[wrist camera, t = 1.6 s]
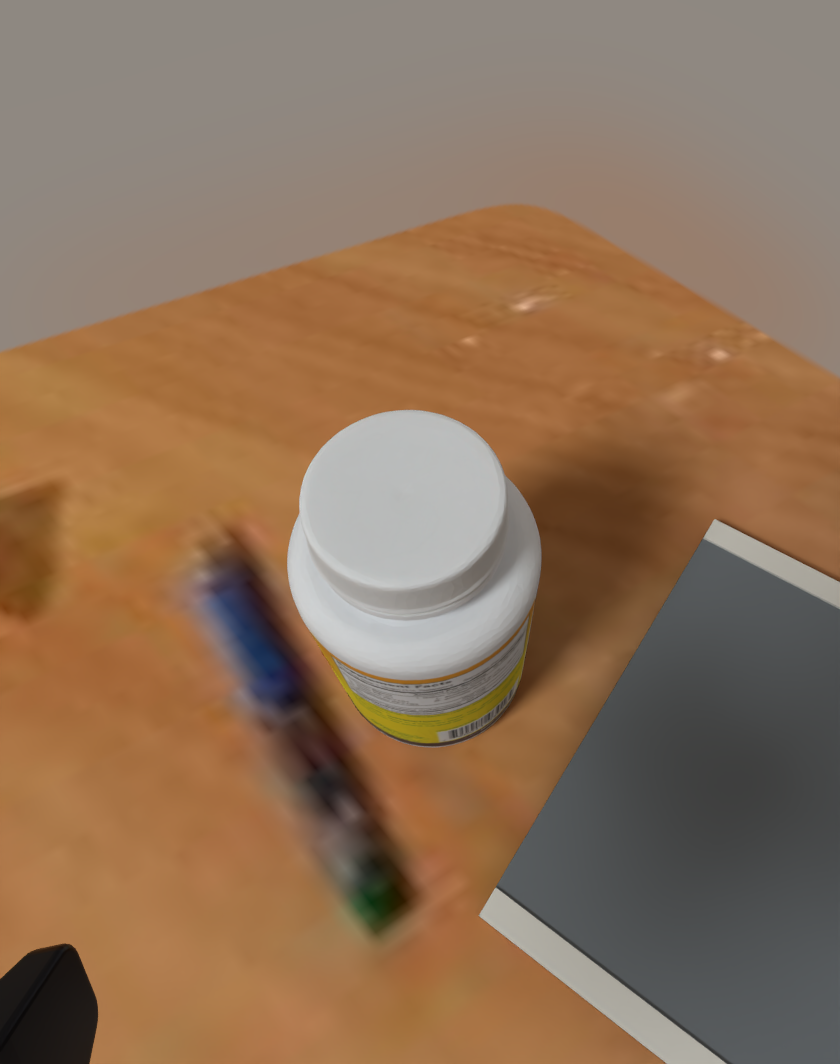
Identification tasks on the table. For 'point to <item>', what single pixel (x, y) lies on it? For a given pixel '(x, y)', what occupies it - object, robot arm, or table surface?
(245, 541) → the table surface
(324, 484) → the supplement bottle
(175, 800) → the table surface
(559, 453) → the table surface
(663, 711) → the mat
